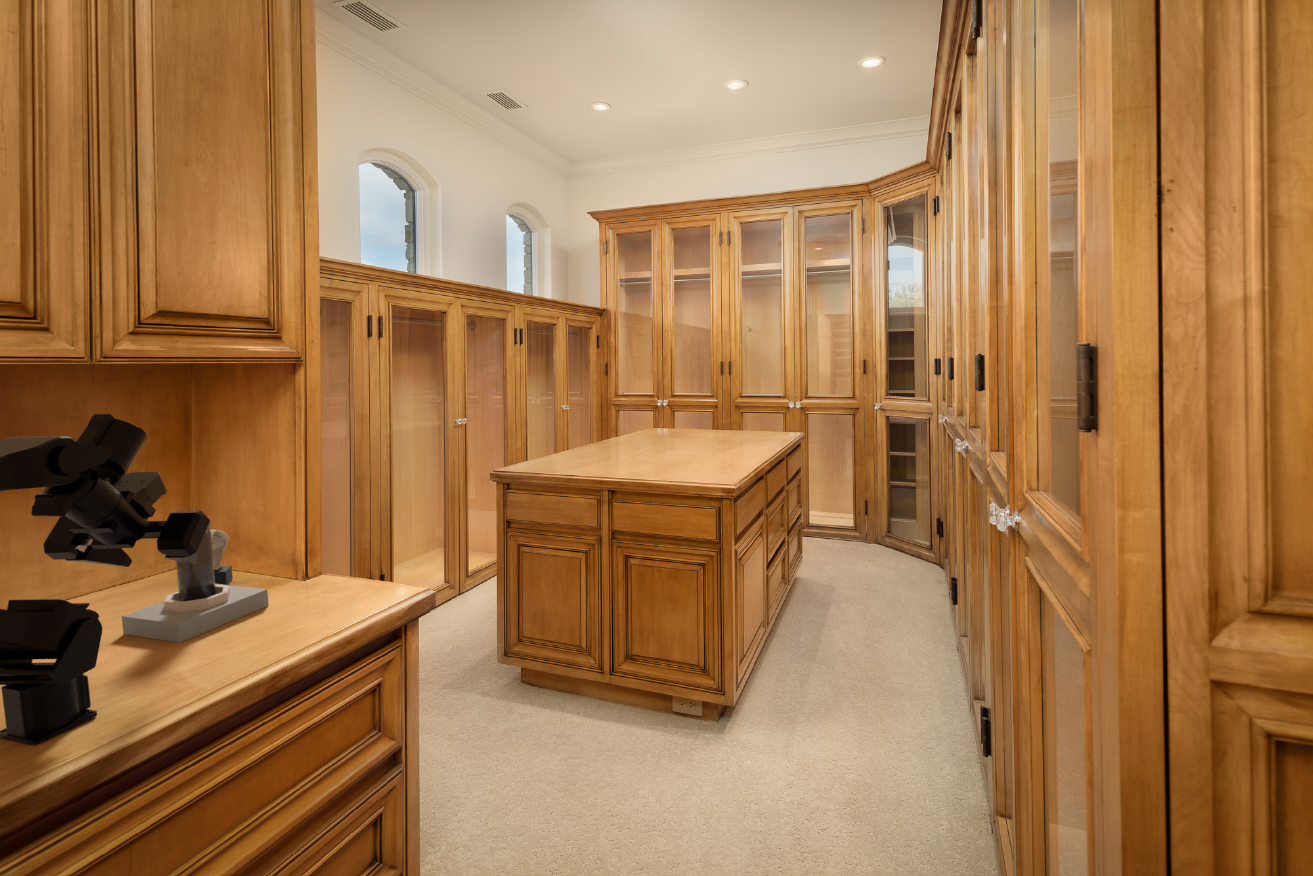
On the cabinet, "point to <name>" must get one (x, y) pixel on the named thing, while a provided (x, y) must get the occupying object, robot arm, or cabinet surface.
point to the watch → (220, 557)
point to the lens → (198, 573)
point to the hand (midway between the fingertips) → (162, 562)
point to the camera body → (194, 613)
